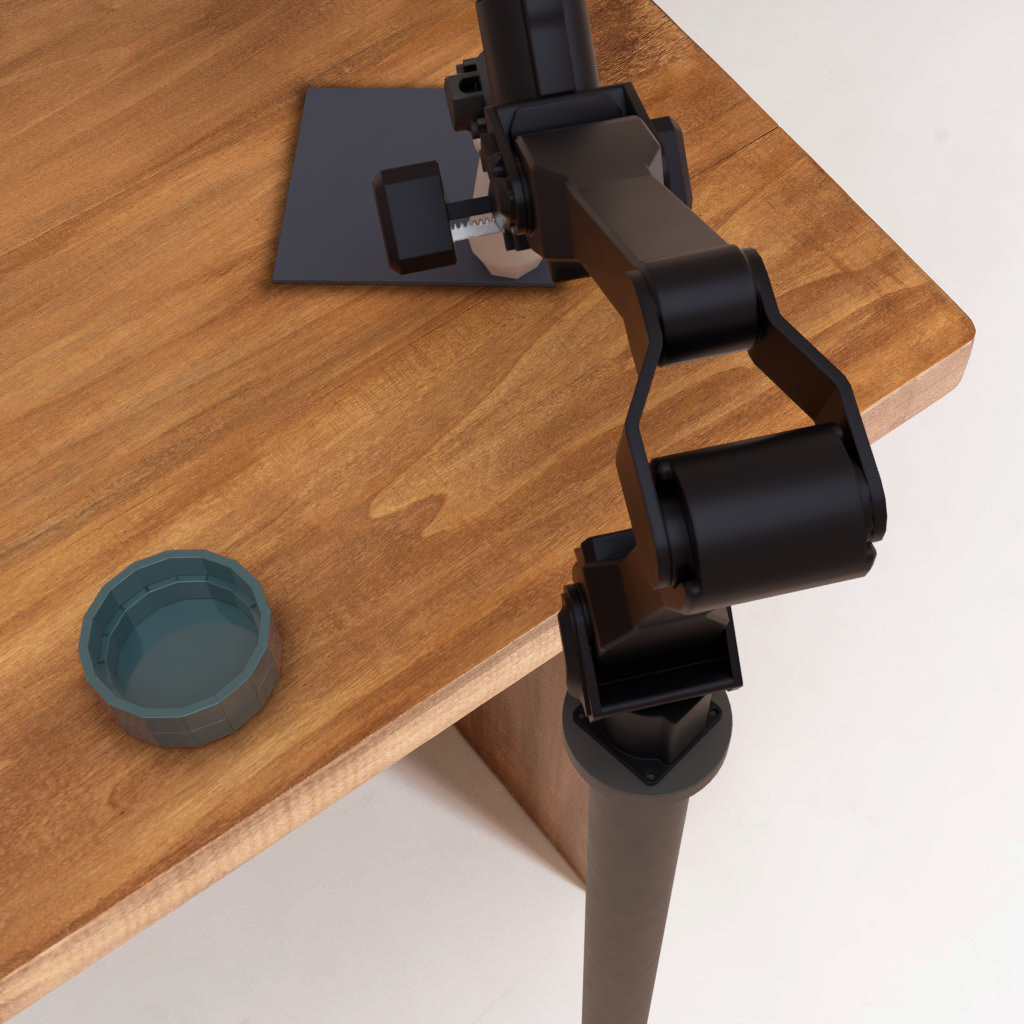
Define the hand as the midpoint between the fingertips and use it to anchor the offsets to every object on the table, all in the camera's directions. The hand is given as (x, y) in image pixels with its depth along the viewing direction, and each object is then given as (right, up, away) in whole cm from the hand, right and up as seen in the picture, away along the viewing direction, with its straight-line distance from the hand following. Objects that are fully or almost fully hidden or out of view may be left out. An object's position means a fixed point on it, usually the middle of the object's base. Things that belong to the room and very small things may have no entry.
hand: (514, 199), depth 94 cm
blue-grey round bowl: (-19, -30, -9) cm, 37 cm away
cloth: (-7, +4, +12) cm, 14 cm away
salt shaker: (0, -3, +7) cm, 8 cm away
